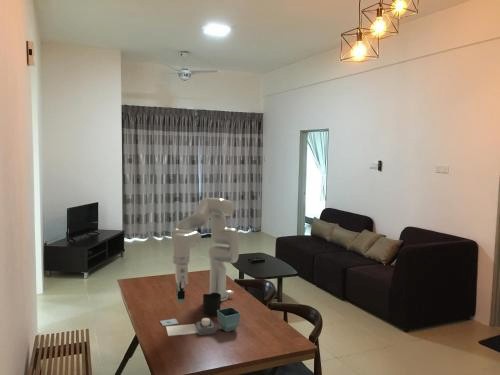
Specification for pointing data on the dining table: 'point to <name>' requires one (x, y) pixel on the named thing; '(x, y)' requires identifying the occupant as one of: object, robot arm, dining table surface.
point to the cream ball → (205, 322)
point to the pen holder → (211, 304)
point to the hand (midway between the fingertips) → (180, 297)
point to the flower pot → (228, 318)
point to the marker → (177, 295)
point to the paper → (181, 330)
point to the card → (169, 322)
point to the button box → (205, 328)
